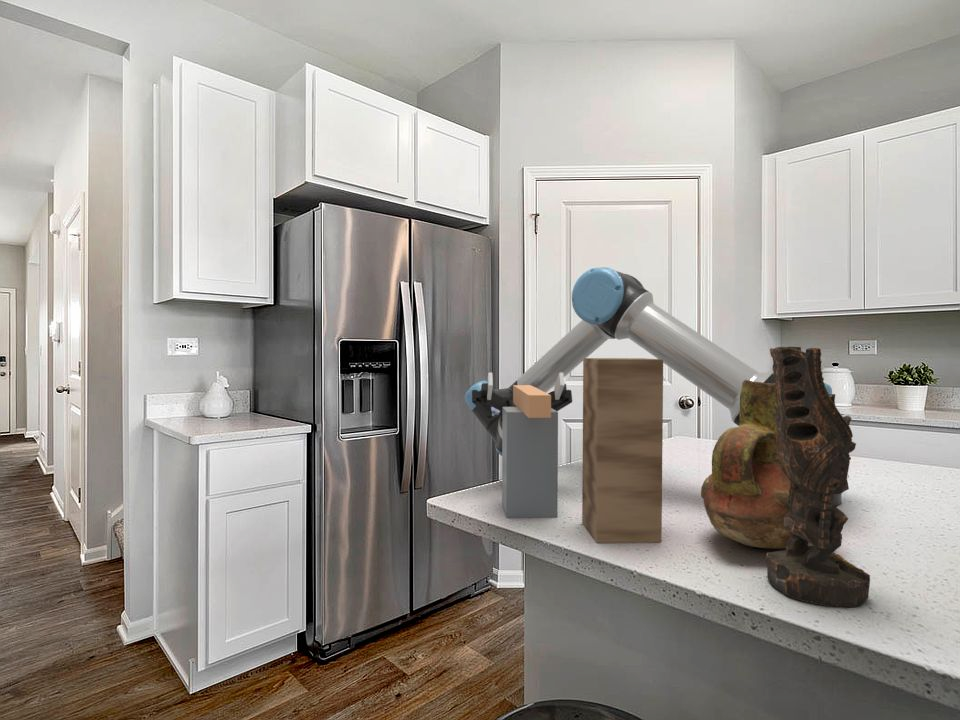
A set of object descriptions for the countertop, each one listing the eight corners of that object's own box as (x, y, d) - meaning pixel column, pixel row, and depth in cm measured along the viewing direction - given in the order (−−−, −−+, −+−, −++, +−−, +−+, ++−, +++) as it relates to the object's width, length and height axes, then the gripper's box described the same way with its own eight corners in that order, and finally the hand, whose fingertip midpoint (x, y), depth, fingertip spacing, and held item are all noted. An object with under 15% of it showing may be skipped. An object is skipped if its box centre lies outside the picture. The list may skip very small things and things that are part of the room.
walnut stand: (582, 522, 97) (583, 358, 96) (640, 522, 97) (641, 358, 96) (596, 543, 87) (598, 359, 86) (661, 542, 87) (663, 359, 86)
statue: (882, 612, 64) (887, 346, 63) (782, 603, 66) (785, 346, 66) (843, 576, 74) (847, 346, 74) (757, 569, 76) (760, 346, 76)
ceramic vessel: (856, 537, 89) (858, 378, 89) (792, 582, 72) (795, 385, 72) (745, 513, 102) (747, 374, 102) (669, 547, 85) (671, 379, 84)
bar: (513, 402, 116) (513, 385, 116) (530, 402, 116) (530, 385, 116) (528, 417, 91) (528, 395, 91) (550, 417, 91) (551, 395, 91)
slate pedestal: (502, 503, 108) (502, 406, 108) (549, 503, 109) (549, 406, 108) (506, 517, 99) (506, 412, 99) (557, 517, 100) (558, 412, 99)
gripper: (573, 437, 125) (593, 396, 107) (459, 438, 124) (460, 396, 105) (569, 406, 129) (589, 361, 110) (459, 406, 128) (460, 361, 109)
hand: (526, 378), depth 108 cm, fingers open, 13 cm apart
